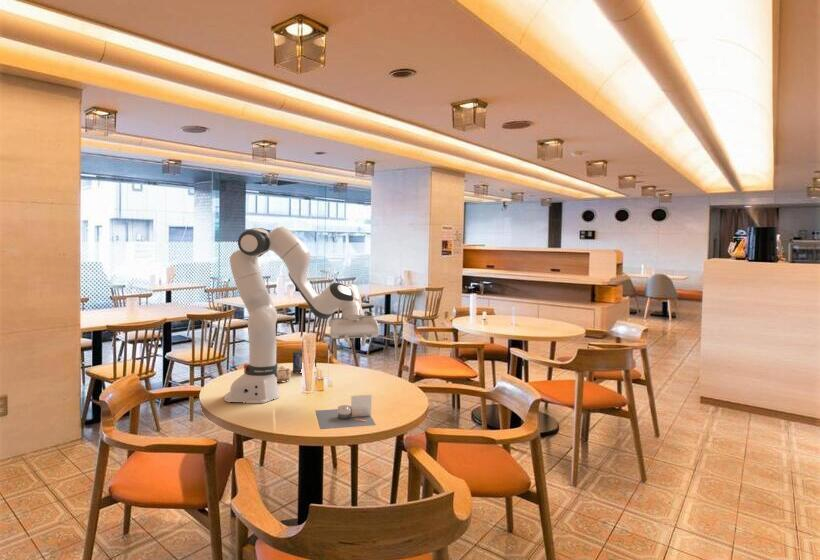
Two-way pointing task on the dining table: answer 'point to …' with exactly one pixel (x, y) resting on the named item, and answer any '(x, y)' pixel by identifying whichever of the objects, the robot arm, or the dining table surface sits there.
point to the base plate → (341, 420)
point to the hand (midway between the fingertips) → (356, 345)
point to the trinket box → (283, 373)
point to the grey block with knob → (356, 407)
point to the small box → (298, 361)
